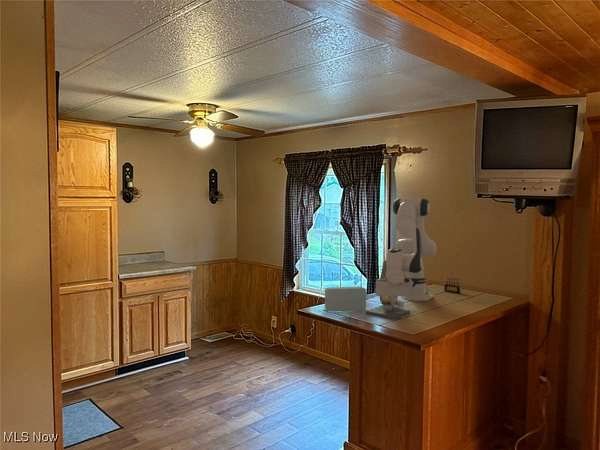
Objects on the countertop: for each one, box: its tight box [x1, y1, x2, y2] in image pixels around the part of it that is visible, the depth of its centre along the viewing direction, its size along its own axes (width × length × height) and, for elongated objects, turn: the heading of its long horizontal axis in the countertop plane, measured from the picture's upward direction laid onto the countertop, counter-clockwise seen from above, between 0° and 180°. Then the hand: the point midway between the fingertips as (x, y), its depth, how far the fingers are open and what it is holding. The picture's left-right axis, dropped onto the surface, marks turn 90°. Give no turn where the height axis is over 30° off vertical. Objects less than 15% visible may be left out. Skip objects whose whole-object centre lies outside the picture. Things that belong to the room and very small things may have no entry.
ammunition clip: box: [443, 274, 461, 294], centre depth 312 cm, size 11×2×12 cm, turn 52°
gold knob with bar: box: [380, 296, 405, 309], centre depth 246 cm, size 18×9×4 cm, turn 20°
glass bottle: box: [379, 259, 387, 306], centre depth 270 cm, size 10×10×28 cm
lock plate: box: [365, 304, 411, 321], centre depth 251 cm, size 18×18×6 cm
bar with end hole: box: [324, 285, 367, 312], centre depth 258 cm, size 23×6×13 cm, turn 102°
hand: (393, 304), depth 242 cm, fingers closed
